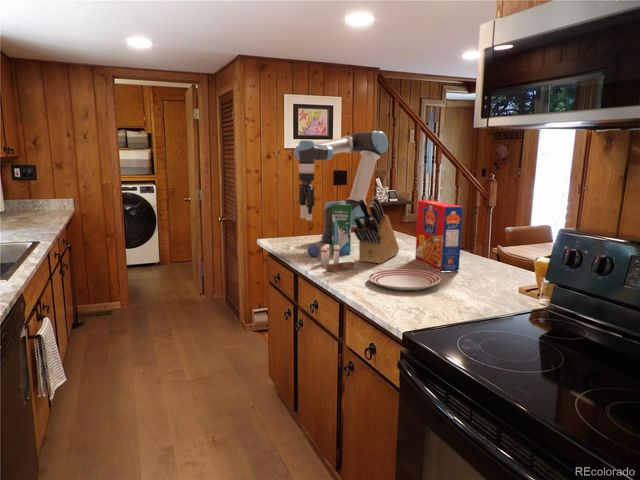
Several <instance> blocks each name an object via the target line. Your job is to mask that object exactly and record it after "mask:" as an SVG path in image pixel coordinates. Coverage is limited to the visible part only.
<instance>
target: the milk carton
mask: <svg viewBox="0 0 640 480" xmlns="http://www.w3.org/2000/svg"><path fill="white" fill-rule="evenodd" d="M351 240H352V226H351V205H346V204H342V203H340V204H339V205H338V204H333V208H332V244H331V255H334V246H339V255H348V256H349V255H351V248H352V247H351V246H352V245H351V244H352V243H351V242H352V241H351Z"/></svg>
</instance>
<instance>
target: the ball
mask: <svg viewBox="0 0 640 480" xmlns="http://www.w3.org/2000/svg"><path fill="white" fill-rule="evenodd" d="M320 252H321V249H320V246H318V245H317V244H315V243H314V244H310V245H309V246H308V247H307V254H308V255H309V256H310V257H312V258H315V257H317V256H318V255H320Z"/></svg>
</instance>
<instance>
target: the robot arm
mask: <svg viewBox="0 0 640 480" xmlns="http://www.w3.org/2000/svg"><path fill="white" fill-rule="evenodd" d="M388 147H389V140H388V138H387V134H385V133H384V132H383V131H381V130H380V131H379V130H374V131H373V130H372V131H370V130H369V131H368V130H367V131H359V132H358V131H357V132H355V133H350V134H347V135H344V136H342V137H341V138H336V139H331V140H326V141H325V140H324V141H321V142H320V141H319V142H315V141H314V140H311V139H310V140H309V139H307V140H306V139H305V140H304V139H302V140H299V142H298V145H297V146H295V148H294V150H293V155H294V157H295V159H296V160H298V165H297V167H298V172H299V173H298V180H299V181H300V182H301V183H299V184H298V186H299V187H298V188H299V189H298V204H299V205H300V219H306V221H313V207H314V206H315V185H312V182H313V181H315V173H314V172H315V161H324V162H325V161H330V160H332V158H333V157H334V155H335V154H341V153H346V154H348V153H359V154H360V156H361V157H360V160H359V163H358V167H357V171H356V174H355V178H354V180H353V185H352V188H351V191H350V196H349V197H348V198H346V200H341V201H339V200H337V201H327V202H325V204H324V229H323V232H322V235H321V237H320V238H321V240H320V241H321V242H322V243H325V244H328V245H330V244H331V245H332V208H333V204H338V205H339V204H340V203H342V204H346V205H351V228H354V227H356V228H358V227H357V226H356V223H355V220H354V219H353V217H354V216H357V217H358V218H359V217H360V216H364V213H363V211H362V210H361V208H360V205H359V201H360V200H363V201H364V202H365V204H366V207H367V203H366V199H367V195H368V192H369V189H370V185H371V180H372V178H373V173H374V170H375V167H376V163H377V161H378V160H379V159H380V158H381V156H382V154H384V153H385V152H387V150H388ZM367 210H368V211H369V209H368V208H367ZM360 221H361V223H362V222H363V219H360Z"/></svg>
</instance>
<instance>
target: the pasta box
mask: <svg viewBox="0 0 640 480" xmlns="http://www.w3.org/2000/svg"><path fill="white" fill-rule="evenodd" d="M463 209H464V207H463V206H461V205H456V204H452V203H447V202H443V201H439V200H438V201H437V200H418V201H417V214H416V215H417V216H416V217H417V220H416V236H415V238H416V240H415V258H416V260H417V259H418V260H417V261H419V260H420V261H419V262H421V261H422V262H421V263H423V262H424V263H426V264H428V265H429V266H428V265H427V266H428V267H430V266H432V267H434V268H435V269H438V270H440V271H457V270H459V271H460V256H461V255H460V254H461V243H462V242H461V240H462V226H463V225H462V224H463V212H464V211H463ZM424 263H423V264H424ZM426 264H425V265H426ZM432 267H431V268H432ZM434 268H433V269H434ZM435 269H434V270H435Z"/></svg>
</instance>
